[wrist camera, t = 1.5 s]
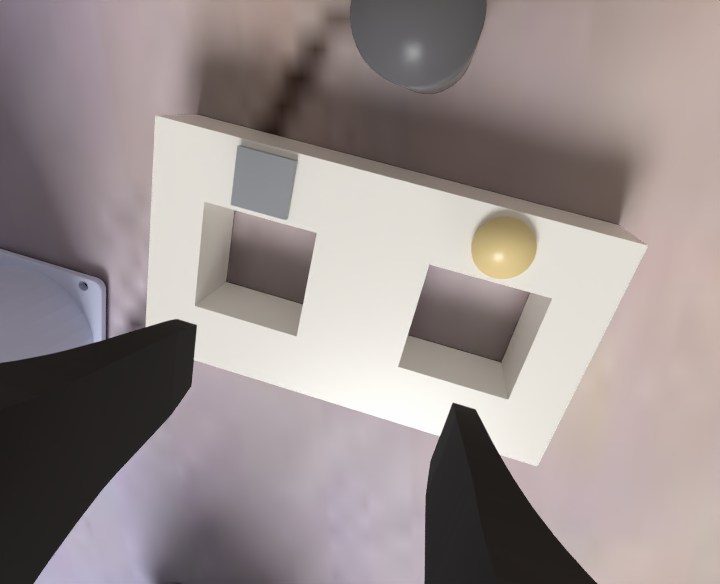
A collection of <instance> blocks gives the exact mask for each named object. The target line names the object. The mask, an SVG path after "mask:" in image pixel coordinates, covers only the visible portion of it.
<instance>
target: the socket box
mask: <svg viewBox="0 0 720 584" xmlns="http://www.w3.org/2000/svg"><path fill="white" fill-rule="evenodd" d="M235 210H236V211H240V212H243V213H247V214H250V215H254V216H258V217H261V218H265V219H268V220H272V221H276V222H279V223H283V224H286V225H290V226H293V227H297V228H301V229H304V230H308V231H311V232H315V233H317V235H316V241H315V246H314V251H313V256H312V261H311V266H310V271H309V276H308V281H307V286H306V291H305V297H304V302H303V304H300V303H296V302H293V301H289V300H286V299H283V298H279V297H276V296H272V295H269V294H266V293H262V292H259V291H255V290H252V289H248V288H245V287H242V286H238V285H235V284H231V283H228V282H226V279H227V270H228V262H229V253H230V245H231V237H232V228H233V220H234V212H235ZM647 247H648V245H646V244H645V243H644V242H642V241H641V240H639V239H638V238H637V237H635V236H634V235H632V234H631V233H630V232H628V231H627V230H625V229H624V228H622V227H621V226H620V225H617V224H613V223H609V222H605V221H601V220H598V219H594V218H590V217H586V216H582V215H578V214H575V213H571V212H567V211H563V210H559V209H556V208H552V207H548V206H544V205H540V204H537V203H533V202H529V201H525V200H521V199H517V198H514V197H510V196H506V195H502V194H498V193H495V192H491V191H487V190H483V189H479V188H475V187H472V186H468V185H464V184H460V183H456V182H453V181H449V180H445V179H441V178H437V177H434V176H430V175H426V174H422V173H418V172H414V171H411V170H407V169H403V168H399V167H395V166H392V165H388V164H384V163H380V162H376V161H373V160H369V159H365V158H361V157H357V156H353V155H350V154H346V153H342V152H338V151H334V150H331V149H327V148H323V147H319V146H315V145H311V144H308V143H304V142H300V141H296V140H292V139H289V138H285V137H281V136H277V135H273V134H270V133H266V132H262V131H258V130H254V129H250V128H247V127H243V126H239V125H235V124H231V123H228V122H224V121H220V120H216V119H212V118H208V117H205V116H201V115H197V114H190V115H155V133H154V155H153V177H152V200H151V222H150V244H149V266H148V288H147V310H146V327H148V326H151V325H155V324H158V323H162V322H165V321H169V320H173V319H179V320H182V321H186V322H189V323H192V324H196V325H197V331H196V342H195V352H194V360H196V361H199V362H202V363H205V364H209V365H212V366H215V367H218V368H222V369H225V370H228V371H231V372H234V373H238V374H241V375H244V376H247V377H251V378H254V379H257V380H260V381H263V382H267V383H270V384H273V385H276V386H280V387H283V388H286V389H289V390H293V391H296V392H299V393H302V394H305V395H309V396H312V397H315V398H318V399H322V400H325V401H328V402H331V403H334V404H338V405H341V406H344V407H347V408H351V409H354V410H357V411H360V412H364V413H367V414H370V415H373V416H376V417H380V418H383V419H386V420H389V421H393V422H396V423H399V424H402V425H405V426H409V427H412V428H415V429H418V430H422V431H425V432H428V433H431V434H435V435H438V436H440V435H441V432H442V430H443V427H444V424H445V422H446V419H447V416H448V414H449V411H450V408H451V406H452V403H456V404H460V405H463V406H466V407H470V408H473V409H476V411H477V413H478V415H479V417H480V419H481V420H482V422H483V424H484V426H485V428H486V430H487V432H488V434H489V436H490V438H491V440H492V442H493V444H494V446H495V447H496V449H497V451H498V453H499V455H502V456H505V457H509V458H512V459H515V460H518V461H522V462H525V463H528V464H531V465H535V466H538V464H539V462H540V460H541V458H542V456H543V454H544V452H545V450H546V448H547V446H548V444H549V442H550V440H551V438H552V436H553V434H554V432H555V430H556V428H557V426H558V424H559V422H560V420H561V418H562V416H563V414H564V412H565V410H566V408H567V406H568V404H569V402H570V400H571V398H572V396H573V394H574V392H575V390H576V388H577V386H578V384H579V382H580V380H581V378H582V376H583V374H584V372H585V370H586V368H587V366H588V364H589V362H590V360H591V358H592V356H593V354H594V352H595V351H596V349H597V347H598V345H599V343H600V341H601V339H602V337H603V335H604V333H605V331H606V329H607V327H608V325H609V323H610V321H611V319H612V317H613V315H614V313H615V311H616V309H617V307H618V305H619V303H620V301H621V299H622V297H623V295H624V293H625V291H626V289H627V287H628V285H629V283H630V281H631V279H632V277H633V275H634V273H635V271H636V269H637V267H638V265H639V263H640V261H641V259H642V257H643V255H644V253H645V251H646V249H647ZM429 264H430V265H433V266H437V267H441V268H444V269H448V270H451V271H455V272H459V273H462V274H466V275H469V276H473V277H476V278H480V279H484V280H487V281H491V282H494V283H498V284H502V285H505V286H509V287H512V288H516V289H520V290H523V291H527V292H530V294H529V296H528V299H527V301H526V304H525V306H524V309H523V311H522V313H521V316H520V318H519V321H518V323H517V326H516V328H515V330H514V333H513V335H512V338H511V340H510V343H509V345H508V347H507V350H506V352H505V355H504V357H503V360H502V362H498V361H494V360H491V359H487V358H484V357H481V356H477V355H474V354H470V353H467V352H464V351H460V350H457V349H453V348H450V347H446V346H443V345H440V344H436V343H433V342H429V341H426V340H423V339H419V338H416V337H412V336H409V335H408V333H409V329H410V326H411V323H412V320H413V316H414V313H415V310H416V307H417V303H418V300H419V297H420V294H421V290H422V287H423V284H424V281H425V277H426V274H427V271H428V267H429Z"/></svg>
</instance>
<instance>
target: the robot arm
mask: <svg viewBox="0 0 720 584" xmlns="http://www.w3.org/2000/svg"><path fill="white" fill-rule="evenodd" d="M84 282H85V283H86V284H87V286H88V287H86V286H85V284H84ZM196 331H197V325H196V324H192V323H189V322H186V321H182V320H179V319H173V320H169V321H165V322H162V323H158V324H155V325H151V326H148V327H145V328H142V329H139V330H135V331H132V332H129V333H126V334H122V335H119V336H116V337H113V338H109V339H106V287H105V284H104V282H103V281H102V280H101V279H99V278H97V277H93V276H90V275H87V274H83V273H80V272H76V271H73V270H70V269H66V268H63V267H60V266H56V265H53V264H50V263H46V262H43V261H40V260H36V259H33V258H30V257H26V256H23V255H20V254H16V253H13V252H10V251H6V250H3V249H0V584H33V583H34V582H35V581H36V579H37V578H38V576H39V575H40V573H41V572H42V570H43V569H44V567H45V566H46V565H47V563H48V562H49V560H50V559H51V557H52V556H53V555H54V553H55V552H56V551H57V549H58V548H59V546H60V545H61V544H62V542H63V541H64V540H65V538H66V537H67V535H68V534H69V533H70V531H71V530H72V529H73V527H74V526H75V524H76V523H77V522H78V521H79V519H80V518H81V517H82V515H83V514H84V513H85V511H86V510H87V509H88V507H89V506H90V505H91V504H92V502H93V501H94V500H95V498H96V497H97V496H98V494H99V493H100V492H101V491H102V489H103V488H104V487H105V486H106V485H107V484H108V482H109V481H110V480H111V479H112V478H113V477H114V476H115V474H116V473H117V472H118V471H119V470H120V469H121V468H122V467H123V466H124V465H125V464H126V463H127V462H128V461H129V460H130V458H131V457H132V456H133V455H134V454H135V453H136V452H137V451H138V450H139V449H140V448H141V447H142V446H143V445H144V444H145V442H146V441H147V440H148V439H149V438H150V437H151V436H152V435H153V434H154V433H155V432H156V431H157V430H158V428H159V427H160V426H161V425H162V424H163V423H164V422H165V421H166V420H167V419H168V417H169V416H170V415H171V414H172V413H173V411H174V410H175V409H176V407H177V406H178V404H179V403H180V402H181V400H182V399H183V397H184V396H185V394H186V393H187V391H188V390H189V388H190V387H191V383H192V373H193V363H194V352H195V342H196ZM425 584H597V583H596V582H595V581H594V580H593V579H592V578H591V577H590V576H589V575H588V574H587V572H586V571H585V570H584V569H583V568H582V567H581V566H580V565H579V564H578V562H577V561H576V560H575V559H574V558H573V557H572V556H571V555H570V553H569V552H568V551H567V550H566V549H565V548H564V547H563V545H562V544H561V543H560V542H559V541H558V539H557V538H556V537H555V536H554V535H553V533H552V532H551V531H550V529H549V528H548V527H547V526H546V524H545V523H544V522H543V520H542V519H541V518H540V516H539V515H538V514H537V513H536V511H535V510H534V508H533V507H532V506H531V504H530V503H529V501H528V500H527V498H526V497H525V495H524V494H523V492H522V491H521V489H520V488H519V486H518V485H517V483H516V482H515V480H514V479H513V477H512V475H511V474H510V472H509V470H508V469H507V467H506V465H505V463H504V462H503V460H502V458H501V456H500V455H499V453H498V451H497V449H496V447H495V446H494V444H493V442H492V440H491V438H490V436H489V434H488V432H487V430H486V428H485V426H484V424H483V422H482V420H481V419H480V417H479V415H478V413H477V411H476V409H473V408H470V407H466V406H463V405H460V404H456V403H452V406H451V408H450V411H449V414H448V416H447V419H446V422H445V424H444V427H443V430H442V432H441V435H440V438H439V440H438V443H437V445H436V448H435V451H434V453H433V456H432V459H431V462H430V469H429V476H428V483H427V491H426V512H425Z"/></svg>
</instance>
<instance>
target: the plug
mask: <svg viewBox="0 0 720 584" xmlns="http://www.w3.org/2000/svg"><path fill="white" fill-rule="evenodd" d="M485 15H486V0H351V7H350V20H351V28H352V33H353V37H354V40H355V43H356V46H357V48H358V50H359V52H360V54H361V56H362V57H363V59H364V60H365V62H366V63H367V64H368V65H369V66H370V68H372V69H373V70H374V71H375V72H376V73H377V74H379V75H380V76H382V77H383V78H385V79H387V80H389V81H391V82H393V83H395V84H398V85H400V86H402V87H405V88H407V89H410V90H412V91H415V92H418V93H422V94H433V93H438V92H441V91H444V90H446V89H448V88H450V87H451V86H453V85H454V84H455V83H456V82H457V81H458V80H460V78H461V77H462V76H463V75H464V73H465V72H466V70H467V68H468V66H469V64H470V62H471V59H472V56H473V54H474V51H475V48H476V45H477V43H478V40H479V37H480V34H481V31H482V29H483V25H484V21H485Z"/></svg>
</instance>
